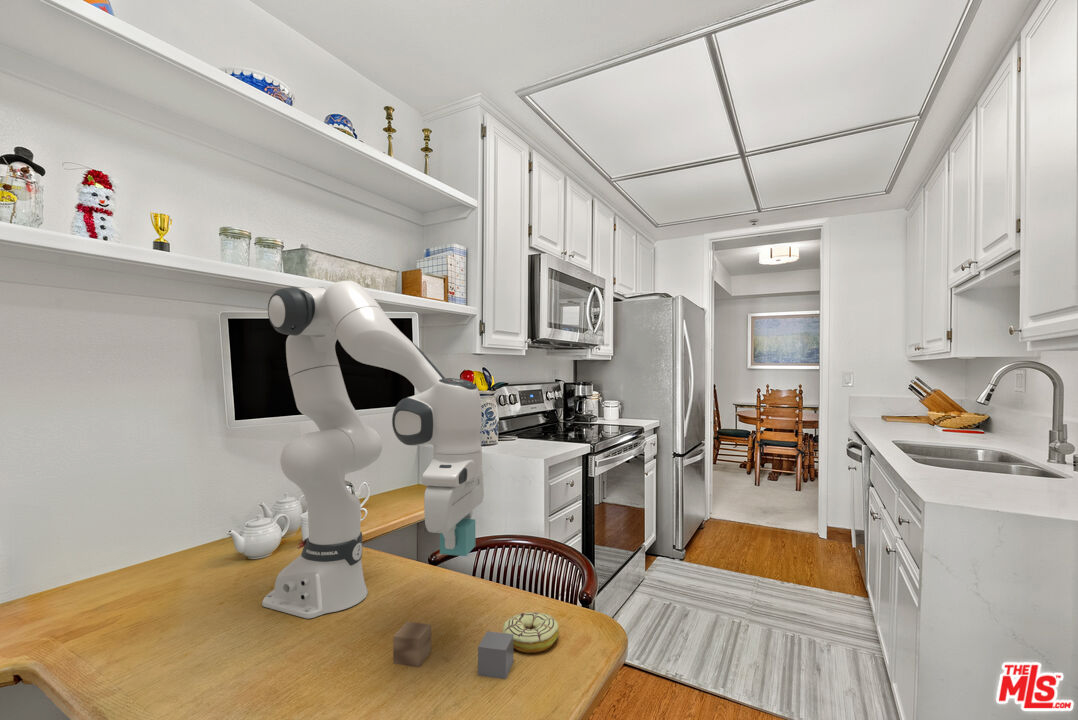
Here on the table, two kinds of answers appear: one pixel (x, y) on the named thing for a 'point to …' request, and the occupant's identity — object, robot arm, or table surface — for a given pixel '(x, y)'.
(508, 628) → the decorated donut
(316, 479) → the robot arm
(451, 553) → the teal cube
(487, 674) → the charcoal cube
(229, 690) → the table surface
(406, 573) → the table surface
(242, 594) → the table surface
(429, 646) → the walnut cube
